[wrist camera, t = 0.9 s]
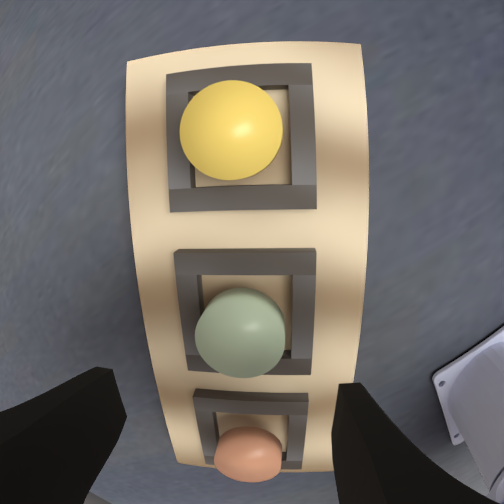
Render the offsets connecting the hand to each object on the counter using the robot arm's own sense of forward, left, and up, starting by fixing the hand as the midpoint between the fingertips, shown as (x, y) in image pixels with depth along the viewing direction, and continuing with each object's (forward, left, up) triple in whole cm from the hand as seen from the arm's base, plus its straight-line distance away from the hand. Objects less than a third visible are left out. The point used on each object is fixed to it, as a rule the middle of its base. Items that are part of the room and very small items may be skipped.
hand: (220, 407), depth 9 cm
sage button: (0, 0, -5) cm, 5 cm away
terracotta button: (-7, +4, -5) cm, 10 cm away
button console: (0, 0, -9) cm, 9 cm away
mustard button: (+7, -4, -5) cm, 10 cm away
